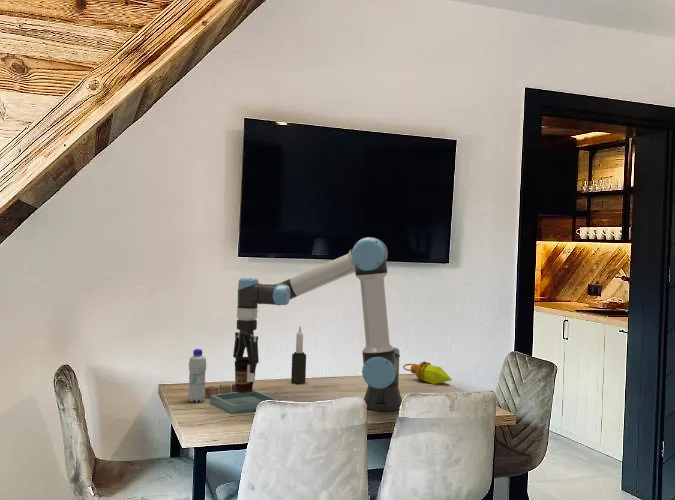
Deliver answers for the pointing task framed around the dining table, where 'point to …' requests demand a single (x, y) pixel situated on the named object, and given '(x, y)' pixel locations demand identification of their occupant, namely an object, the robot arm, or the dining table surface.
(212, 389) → the walnut block
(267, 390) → the dining table surface
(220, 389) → the walnut block
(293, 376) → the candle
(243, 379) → the coffee cup
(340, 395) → the dining table surface
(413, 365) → the plumb bob
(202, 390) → the bottle
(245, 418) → the dining table surface
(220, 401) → the tray
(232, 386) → the walnut block
